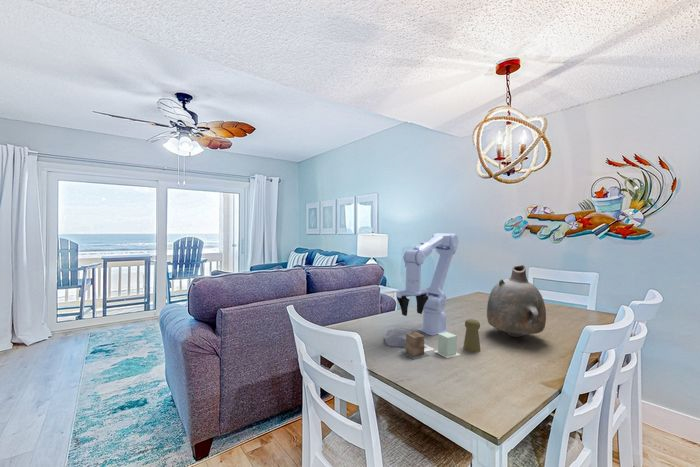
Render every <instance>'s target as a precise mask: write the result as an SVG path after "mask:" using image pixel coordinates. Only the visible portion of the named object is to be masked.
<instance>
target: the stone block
mask: <svg viewBox="0 0 700 467" xmlns="http://www.w3.org/2000/svg"><path fill="white" fill-rule="evenodd" d="M408 333H411V330H406V329H402V328H401V329H399V328H394V329H389V330H387V332H386V333H385V335H384V342H385V344H386V346H390V347H397V348H398V347H400V348H401V347H402V348H406V334H408Z"/></svg>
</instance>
